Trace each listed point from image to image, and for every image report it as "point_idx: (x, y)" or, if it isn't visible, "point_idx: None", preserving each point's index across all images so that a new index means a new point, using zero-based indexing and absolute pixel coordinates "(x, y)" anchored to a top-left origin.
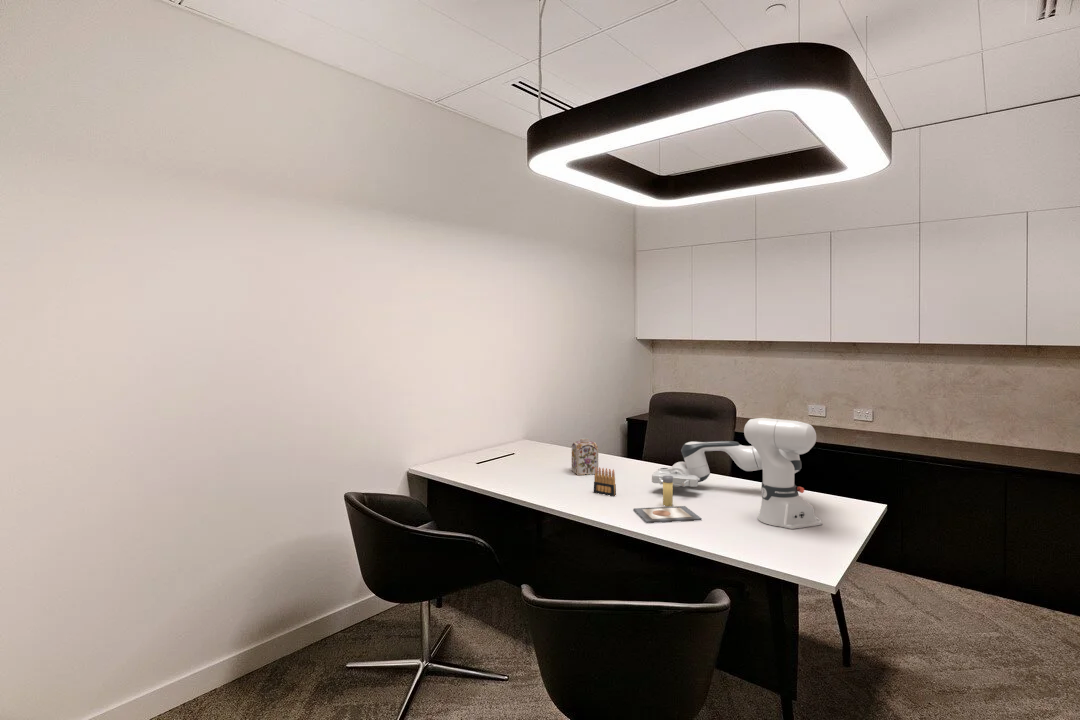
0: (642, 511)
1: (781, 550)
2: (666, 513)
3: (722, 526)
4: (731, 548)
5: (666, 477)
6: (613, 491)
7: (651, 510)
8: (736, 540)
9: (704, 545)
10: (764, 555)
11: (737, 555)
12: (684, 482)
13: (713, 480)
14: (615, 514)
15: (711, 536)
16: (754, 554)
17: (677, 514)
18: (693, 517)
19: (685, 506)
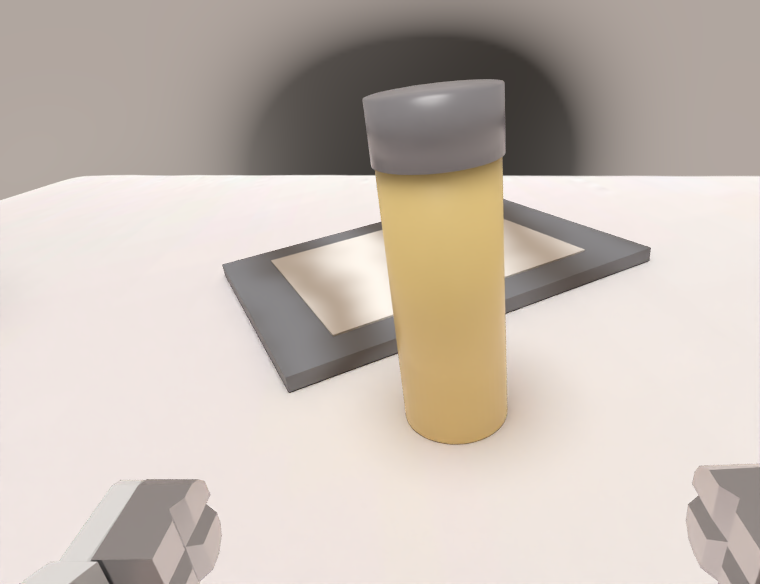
0: (563, 237)
1: (59, 214)
2: None
3: (147, 261)
4: (201, 190)
5: (441, 84)
6: None
7: (518, 254)
8: (159, 214)
9: (274, 182)
10: (131, 193)
11: (202, 180)
12: (131, 486)
13: None
14: (691, 211)
15: (234, 209)
16: (155, 190)
17: (350, 259)
18: (263, 261)
19: (282, 369)
